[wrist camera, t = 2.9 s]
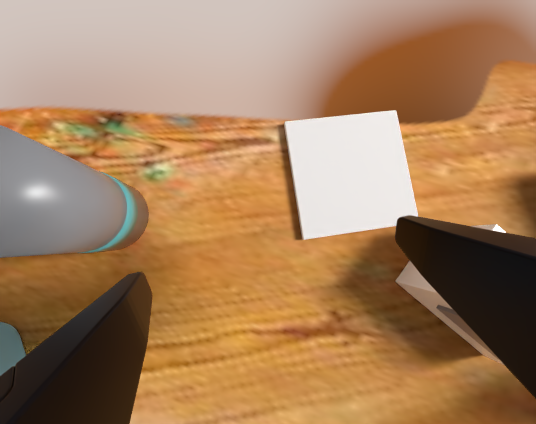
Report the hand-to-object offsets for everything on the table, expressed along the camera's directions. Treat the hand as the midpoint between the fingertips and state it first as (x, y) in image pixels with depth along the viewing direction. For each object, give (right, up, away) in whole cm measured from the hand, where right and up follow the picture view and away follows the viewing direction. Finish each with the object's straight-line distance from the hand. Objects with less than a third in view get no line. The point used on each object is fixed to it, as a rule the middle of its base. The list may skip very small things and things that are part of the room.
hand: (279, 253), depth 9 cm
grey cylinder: (-13, +1, +12) cm, 18 cm away
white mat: (+7, +5, +14) cm, 17 cm away
